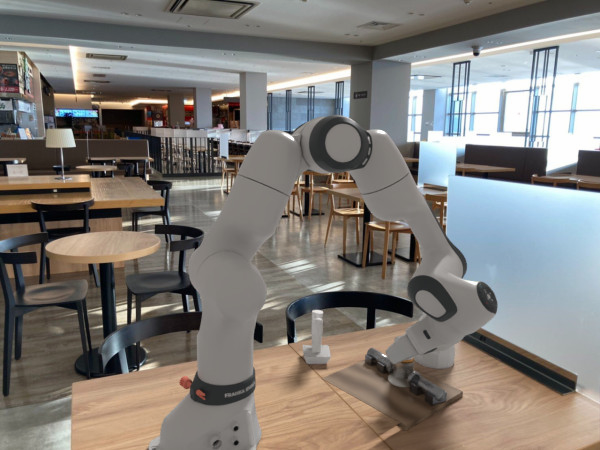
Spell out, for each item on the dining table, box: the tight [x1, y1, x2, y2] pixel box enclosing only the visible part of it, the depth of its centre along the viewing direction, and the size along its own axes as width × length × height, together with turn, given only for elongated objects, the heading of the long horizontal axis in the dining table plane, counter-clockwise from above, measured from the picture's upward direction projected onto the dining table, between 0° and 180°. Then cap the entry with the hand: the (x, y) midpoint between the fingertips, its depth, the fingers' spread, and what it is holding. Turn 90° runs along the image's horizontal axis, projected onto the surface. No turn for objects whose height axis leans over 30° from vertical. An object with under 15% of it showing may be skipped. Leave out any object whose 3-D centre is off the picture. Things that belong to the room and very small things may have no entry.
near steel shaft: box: [407, 370, 447, 406], centre depth 113 cm, size 9×4×4 cm, turn 31°
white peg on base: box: [302, 309, 332, 365], centre depth 130 cm, size 7×9×15 cm
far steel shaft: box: [364, 347, 393, 374], centre depth 127 cm, size 9×4×4 cm, turn 31°
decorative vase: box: [414, 311, 456, 370], centre depth 132 cm, size 11×11×25 cm
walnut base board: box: [321, 359, 464, 431], centre depth 118 cm, size 22×26×2 cm
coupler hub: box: [393, 335, 415, 379], centre depth 119 cm, size 5×5×9 cm
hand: (401, 355), depth 120 cm, fingers closed on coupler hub, 5 cm apart
